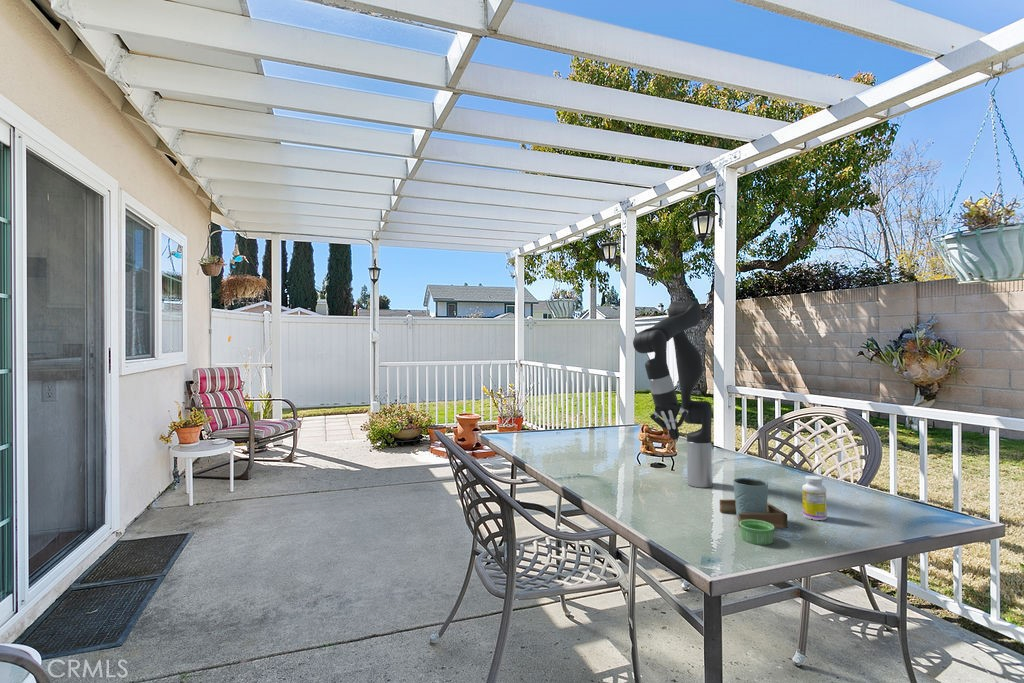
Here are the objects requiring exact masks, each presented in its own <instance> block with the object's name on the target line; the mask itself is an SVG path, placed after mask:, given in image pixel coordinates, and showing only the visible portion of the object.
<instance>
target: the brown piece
mask: <svg viewBox="0 0 1024 683" xmlns="http://www.w3.org/2000/svg"><path fill="white" fill-rule="evenodd" d="M735 503H736V501H735V499H719V513H721V514H736V504H735ZM749 519H752V520H761V521H765V522H768V523H770V524H772V525H773V526H774V529H777V528H780V529H785V528H786V529H787V528H788V522H789V521H788V514H787V513H786V512H784V511H782V510H781V509H780V508H778V507H776V506H774V505H773V504H771V503H770V502H768V501H767V513H739V520H738V523H739V522H740V521H742V520H749ZM738 527H739V528H740V525H739V524H738Z"/></svg>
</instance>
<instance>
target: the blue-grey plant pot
mask: <svg viewBox="0 0 1024 683" xmlns="http://www.w3.org/2000/svg"><path fill="white" fill-rule="evenodd" d="M732 484H733V491H734V492H733V494H734V500H735V501H736V503H735V504H736V513H735V514H736V519H737V520H738V521H739V513H767V502H768V494H769V493H768V490H769V489H768V488H769V487H768V486H769V483H768V482H767V481H765V480H763V479H758V478H749V477H740V478H739V477H738V478H735V479H733V482H732Z"/></svg>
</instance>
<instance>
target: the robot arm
mask: <svg viewBox="0 0 1024 683" xmlns="http://www.w3.org/2000/svg"><path fill="white" fill-rule="evenodd" d="M702 312H703V311H702V307H701V305H700V304H699V303H698V302H695V301H674V302H671V303H670V304H669V305H668V310H667V315H668V317H666V318H663V319H660V321H658V322H657V323H656V324H654V325H653V326H651V327H647V328H646V329H644V330H640V331H639V332H637V333H636V335H635V336H634V338H633V339H632V340H633V341H632V346H633V349H634V350H635V351H636V352H637V353H639V354H650V353H654V358H651V359H648V360H646V362H645V364H644V369H645V371H646V376H647V378H648V379H647V380H648V384H649V391H650V393H651V397H652V401H653V404H654V412H653V413H651V415H650V419H651V420H652V421H654V422H655V423H656V424H657V425H658V426H659V427H660V428H662V429H666V430H668V434H669V437H670V439H672V440H673V441H675V440H677V441H678V440H679V438H680V430H679V428H680V427H682V425H683V423H685V424H690V425H701V428H700V429H698V430H695V431H691V432H688V433H687V434H686V461H687V462H686V463H687V464H686V471H687V472H686V476H687V478H686V479H687V480H686V481H687V485H688V486H691V487H693V488H694V487H695V488H711V487H712V486H713V464H712V462H713V453H712V451H713V450H712V420H713V408H712V405H711V402H710V401H705V400H704V401H703V400H692V398H691V396H692V393H693V391H694V388H695V387H696V386H697V384H698V382H699V381H700V379H701V378H702V375H703V372H704V371H703V369H704V368H703V360H702V355H701V353H700V352H699V350H698V349H697V348H696V347H695V345H694V344H693V343H692V342H691V340H690V339H689V338H688V336H687V335H686V332H685V331H687V330H688V329H690V328H693V327H697V325H699V324H700V322H701V320H702V316H703V313H702ZM671 339H672V340H673V346H674V350H675V351H674V352H675V361H676V368H677V369H676V370H677V374H678V379H679V381H678V382H679V387H680V400H681V402H680V403H681V404H680V403H679V401H678V397H677V393H676V390H675V385H674V382H673V379H672V377H671V373H670V369H669V366H668V361H667V358H668V357H667V348H668V347H667V344H668V342H669V341H670V340H671ZM678 415H680V418H679V420H678Z"/></svg>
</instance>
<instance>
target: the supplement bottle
mask: <svg viewBox="0 0 1024 683" xmlns="http://www.w3.org/2000/svg"><path fill="white" fill-rule="evenodd" d="M804 480H805V483H804V484H803V485H802V487H801V488H802V492H801V494H802V496H801V498H802V499H801V500H802V503H801V504H802V516H803V517H804V518H805V517H806V519H808V520H811V519H813V520H812V521H818V520H821V521H825V520H826V519H827V517H828V515H827V514H828V512H827V511H828V510H827V509H828V507H827V506H828V505H827V488H826V487H825V486H824V485H822V484H823V478H822V477H821V476H817V475H805V477H804Z"/></svg>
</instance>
